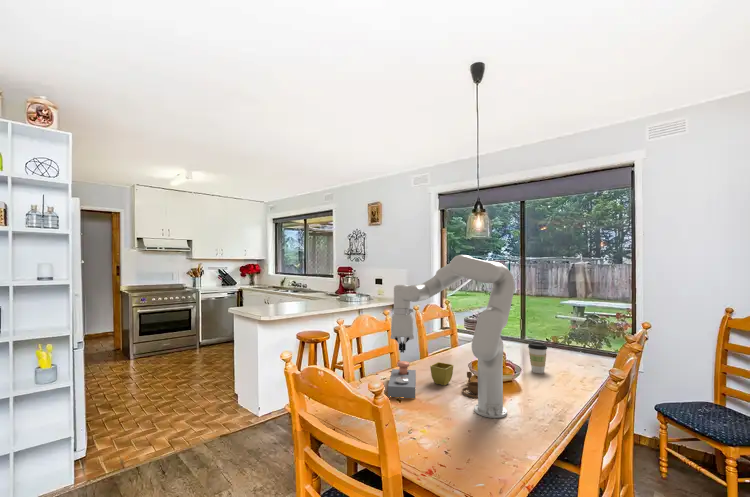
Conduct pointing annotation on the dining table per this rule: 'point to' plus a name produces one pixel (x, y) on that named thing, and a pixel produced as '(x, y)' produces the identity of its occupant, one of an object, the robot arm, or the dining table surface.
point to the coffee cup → (537, 356)
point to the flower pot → (441, 373)
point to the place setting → (471, 387)
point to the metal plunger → (402, 380)
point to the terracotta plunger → (403, 367)
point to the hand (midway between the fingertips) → (402, 351)
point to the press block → (402, 389)
